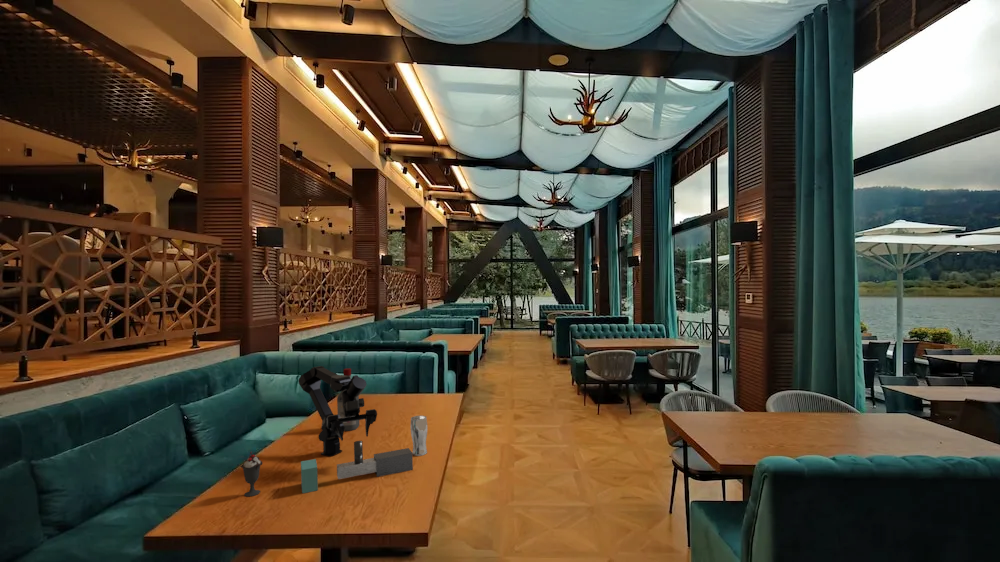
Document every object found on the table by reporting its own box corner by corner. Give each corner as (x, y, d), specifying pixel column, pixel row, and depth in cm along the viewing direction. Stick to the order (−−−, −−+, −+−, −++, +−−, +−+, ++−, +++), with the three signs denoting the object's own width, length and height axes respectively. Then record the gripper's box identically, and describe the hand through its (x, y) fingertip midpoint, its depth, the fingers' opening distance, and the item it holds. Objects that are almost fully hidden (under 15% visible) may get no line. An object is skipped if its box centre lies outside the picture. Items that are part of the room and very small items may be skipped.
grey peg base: (404, 462, 180) (403, 432, 180) (407, 466, 177) (406, 435, 177) (337, 475, 170) (336, 443, 170) (338, 479, 166) (337, 447, 166)
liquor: (354, 431, 229) (353, 370, 230) (336, 431, 229) (334, 370, 230) (360, 425, 238) (359, 367, 239) (343, 426, 238) (341, 367, 239)
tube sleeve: (409, 464, 182) (408, 448, 182) (412, 469, 176) (412, 452, 177) (374, 471, 176) (373, 454, 176) (377, 476, 171) (376, 459, 171)
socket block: (316, 480, 169) (315, 458, 169) (317, 490, 161) (317, 467, 161) (301, 483, 167) (300, 461, 167) (302, 493, 159) (301, 470, 159)
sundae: (248, 499, 155) (247, 454, 156) (237, 495, 159) (236, 451, 159) (267, 491, 161) (266, 448, 161) (256, 488, 164) (255, 445, 165)
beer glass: (424, 456, 190) (423, 420, 190) (408, 456, 191) (407, 419, 192) (430, 450, 197) (429, 415, 197) (415, 450, 198) (414, 415, 199)
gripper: (326, 395, 179) (330, 431, 169) (375, 389, 187) (382, 423, 177) (325, 411, 186) (328, 446, 176) (372, 404, 194) (378, 438, 184)
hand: (354, 438), depth 178 cm, fingers open, 9 cm apart
